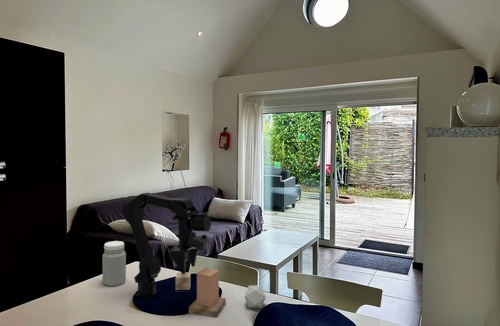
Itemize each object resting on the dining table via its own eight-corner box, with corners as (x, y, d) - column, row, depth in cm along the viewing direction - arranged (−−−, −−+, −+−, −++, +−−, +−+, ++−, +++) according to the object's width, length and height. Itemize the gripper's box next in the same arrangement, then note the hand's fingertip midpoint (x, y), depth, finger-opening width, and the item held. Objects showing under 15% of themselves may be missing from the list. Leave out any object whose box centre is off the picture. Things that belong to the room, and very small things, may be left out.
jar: (117, 276, 165) (117, 239, 164) (130, 282, 160) (130, 243, 158) (98, 283, 157) (97, 243, 156) (110, 289, 152) (110, 248, 151)
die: (258, 315, 132) (271, 292, 135) (239, 302, 134) (252, 279, 136) (257, 313, 140) (269, 291, 143) (239, 300, 141) (251, 279, 144)
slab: (188, 315, 131) (188, 307, 131) (199, 302, 142) (199, 295, 142) (216, 319, 129) (216, 311, 129) (225, 305, 140) (225, 298, 139)
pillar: (197, 303, 134) (196, 273, 133) (205, 297, 140) (205, 268, 139) (210, 307, 131) (210, 275, 131) (218, 300, 137) (218, 270, 136)
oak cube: (175, 291, 151) (175, 277, 150) (176, 285, 157) (176, 272, 156) (189, 291, 151) (189, 277, 151) (190, 285, 157) (190, 272, 157)
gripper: (195, 235, 127) (198, 278, 128) (212, 225, 145) (215, 262, 146) (167, 236, 130) (170, 278, 130) (188, 226, 148) (191, 262, 148)
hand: (188, 270), depth 139 cm, fingers open, 9 cm apart
